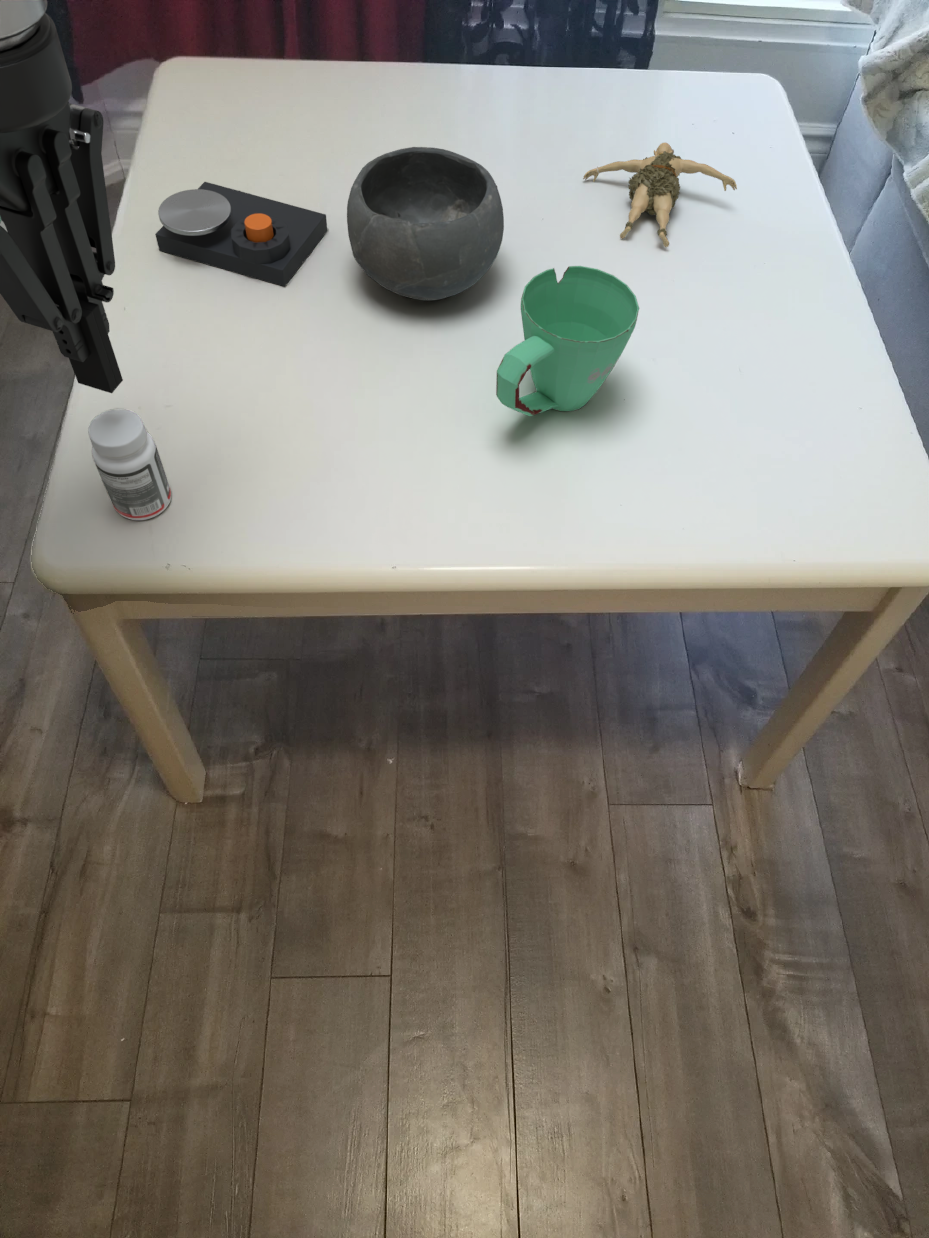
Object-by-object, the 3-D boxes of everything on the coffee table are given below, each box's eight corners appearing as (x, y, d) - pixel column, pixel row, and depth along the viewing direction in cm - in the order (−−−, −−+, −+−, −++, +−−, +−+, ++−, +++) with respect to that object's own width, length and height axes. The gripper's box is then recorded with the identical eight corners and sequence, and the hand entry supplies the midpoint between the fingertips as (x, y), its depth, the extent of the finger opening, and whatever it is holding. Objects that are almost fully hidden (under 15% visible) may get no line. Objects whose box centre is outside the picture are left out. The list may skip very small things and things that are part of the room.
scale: (327, 231, 96) (325, 200, 93) (283, 288, 90) (279, 257, 87) (207, 198, 98) (201, 166, 95) (158, 252, 92) (149, 221, 89)
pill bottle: (131, 471, 76) (103, 397, 69) (182, 486, 76) (159, 412, 69) (101, 513, 74) (69, 439, 67) (154, 528, 73) (127, 456, 66)
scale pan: (161, 239, 88) (160, 234, 87) (157, 197, 92) (155, 192, 91) (235, 232, 89) (234, 227, 89) (227, 190, 93) (227, 186, 92)
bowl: (481, 338, 88) (489, 246, 79) (332, 310, 89) (323, 216, 80) (511, 246, 96) (520, 154, 87) (373, 222, 97) (370, 128, 88)
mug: (553, 341, 88) (568, 250, 79) (637, 391, 85) (662, 301, 76) (454, 422, 81) (459, 332, 73) (541, 479, 78) (557, 391, 70)
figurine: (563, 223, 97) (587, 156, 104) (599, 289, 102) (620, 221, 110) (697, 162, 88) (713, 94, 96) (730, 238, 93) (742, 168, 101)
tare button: (278, 231, 90) (276, 217, 89) (266, 246, 89) (263, 232, 87) (254, 225, 90) (252, 210, 89) (242, 239, 89) (239, 225, 88)
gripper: (-43, 99, 42) (97, 458, 61) (110, -16, 49) (192, 340, 68) (-183, 62, 43) (0, 427, 62) (-13, -45, 50) (103, 313, 69)
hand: (100, 381), depth 65 cm, fingers closed
